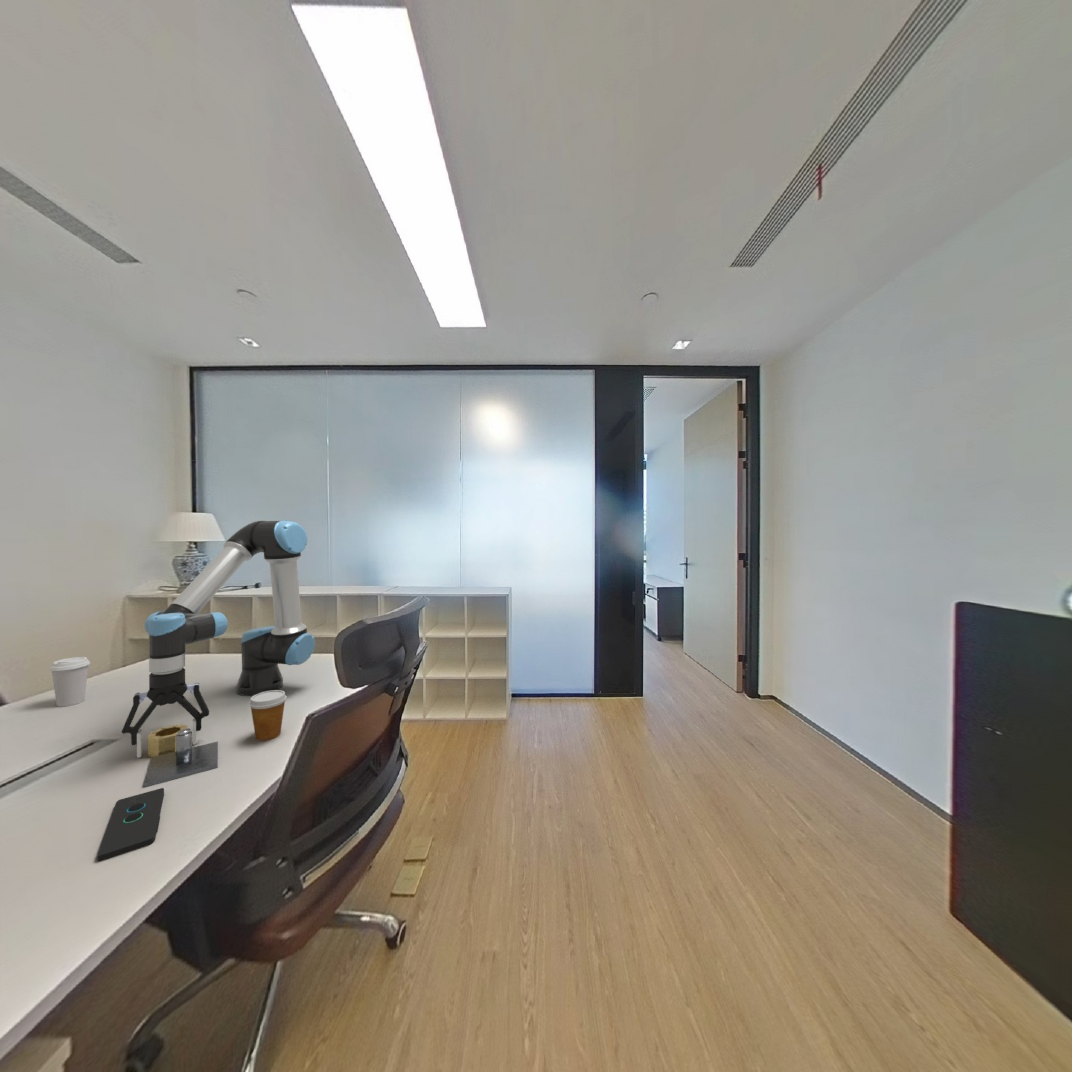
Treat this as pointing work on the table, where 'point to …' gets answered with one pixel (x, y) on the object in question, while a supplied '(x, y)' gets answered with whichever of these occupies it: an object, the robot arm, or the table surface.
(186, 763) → the metal peg stand
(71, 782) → the table surface
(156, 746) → the ring
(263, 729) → the disposable coffee cup
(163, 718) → the table surface
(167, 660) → the robot arm
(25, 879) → the table surface
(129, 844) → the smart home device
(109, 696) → the table surface
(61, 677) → the coffee cup
